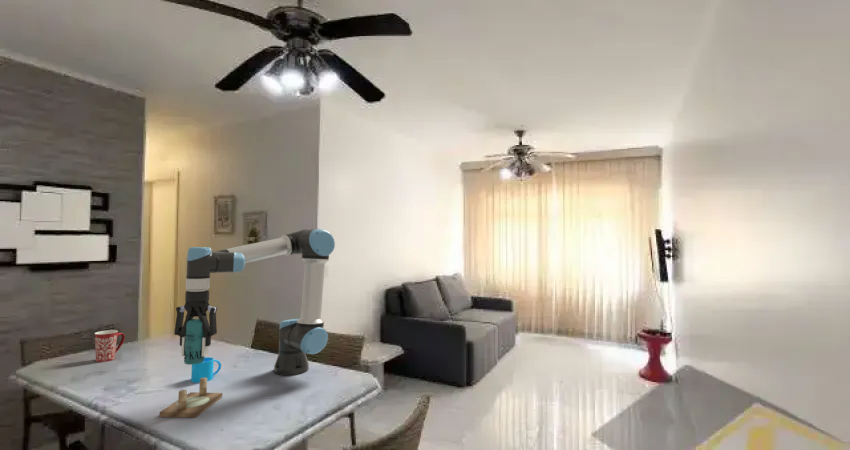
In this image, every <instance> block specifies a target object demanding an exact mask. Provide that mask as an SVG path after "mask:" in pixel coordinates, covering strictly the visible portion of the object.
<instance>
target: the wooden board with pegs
mask: <svg viewBox="0 0 850 450" xmlns="http://www.w3.org/2000/svg"><path fill="white" fill-rule="evenodd" d="M207 388H208V381H207V378H200V383H199V388H198V389H199V391H198V392H192V391H191V392H188V390H187V389H182V390H179V391H178V396H177V397H178V400H176V401H175V402H173V403H171V404H170V405H169V406H167V407H165V408H163V409H162V410H161V411H159V416H158V417H159V418H197V417H199V415H201V414H202V413H203V412H205V411H206V410H207V409H208V408H210V407H211V406H213V405H214V404H216V402H218V401H220V399H222V398H223V392H207V391H208V389H207Z"/></svg>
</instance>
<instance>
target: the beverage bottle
mask: <svg viewBox="0 0 850 450" xmlns="http://www.w3.org/2000/svg"><path fill="white" fill-rule="evenodd" d="M190 316H192V317H194V318H193V319H190V320H189V321H188V322H187V323H186V333H185V334H186V335H185V336H186V337H185V356H183V362H184V364H185V365H188V366H189V365H191V366H192V364H199V363H202V362H203V361H204V357H206V356H202V338H203V337H204V336H205V335H204V332H203V328H202V322H201V321H200V319H199V317H197V316H198V314H197V312H196V310H193V311H191V315H190ZM202 316H203V315H202ZM195 317H197V318H195Z"/></svg>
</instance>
